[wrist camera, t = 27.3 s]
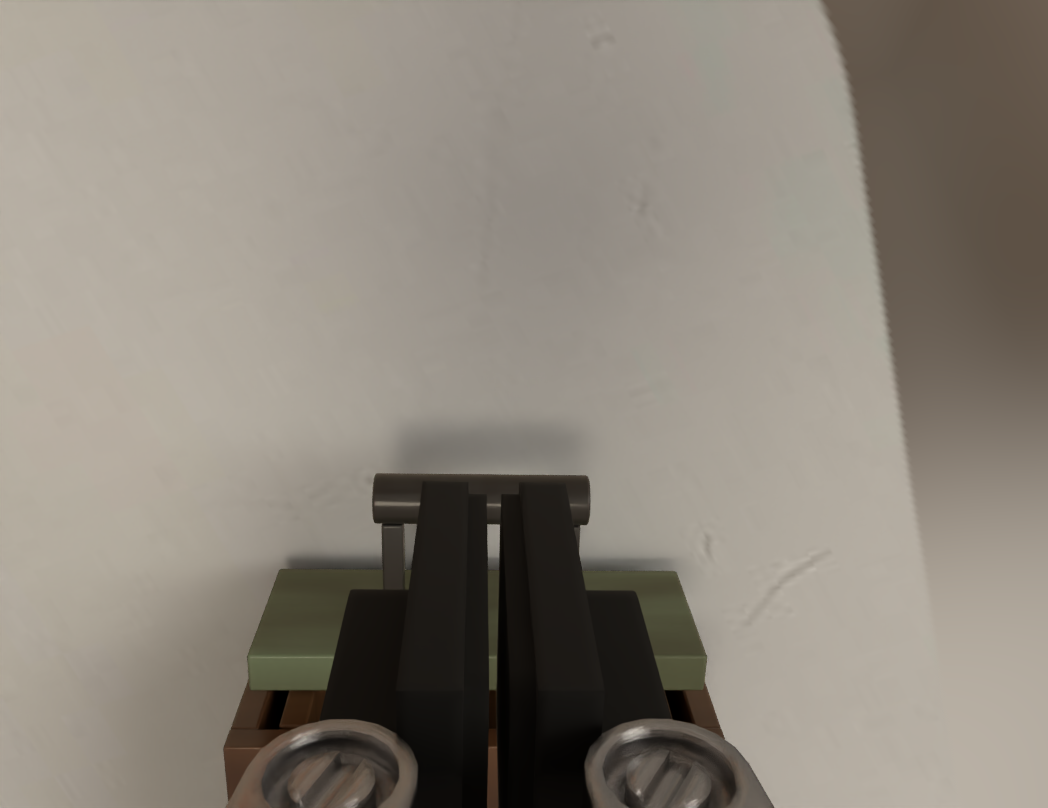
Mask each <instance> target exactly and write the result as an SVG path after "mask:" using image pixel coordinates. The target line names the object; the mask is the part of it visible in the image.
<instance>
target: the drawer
mask: <svg viewBox="0 0 1048 808" xmlns="http://www.w3.org/2000/svg"><path fill="white" fill-rule="evenodd" d="M423 481H447V482H469V494H487V524H500V516H501V494H518V492H519V483H520V482H549V483H565V484H566V488H567V493H568V498H569V504H570V509H571V514H572V519H573V525H574V530H575V535H576V541H577V546H578V551H579V541H580V525H587V524H588V522H589V517H590V483H589V479H588V476H586V475H492V474H394V473H377V474H376V475H375V477H374V482H373V496H372V511H373V520H374V522H375V523H379V524H382V563H383V570H347V569H281V570H279V572H278V575H277V578H276V580H275V583H274V586H273V588H272V591H271V594H270V597H269V599H268V602H267V605H266V607H265V610H264V613H263V615H262V618H261V621H260V623H259V626H258V629H257V631H256V634H255V637H254V639H253V642H252V645H251V647H250V650H249V653H248V655H247V662H248V675H249V687H250V690H289V693H288V696H287V700H286V703H285V707H284V710H283V714H282V717H281V721H280V724H279V730H281V729H295V728H298V727H300V726H302V725H305V724H310V723H315V722H319V719H320V715H321V711H322V707H323V702H324V698H325V694H326V689H327V685H328V681H329V677H330V672H331V668H332V664H333V660H334V655H335V651H336V647H337V642H338V638H339V634H340V630H341V625H342V621H343V617H344V613H345V608H346V604H347V600H348V596H349V593H350V590H352V589H409V584H410V576H411V570H405V536H404V524H417V521H418V514H419V506H420V498H421V490H422V483H423ZM582 572H583V578H584V583H585V588H586V590H633V591H635V592H636V594H637V597H638V599H639V603H640V606H641V610H642V614H643V617H644V621H645V624H646V628H647V631H648V635H649V639H650V642H651V646H652V649H653V653H654V657H655V660H656V664H657V667H658V671H659V675H660V678H661V682H662V685H663V689H664V692H665V690H703V688H704V681H705V672H706V663H707V655H706V653H705V650H704V647H703V644H702V642H701V639H700V636H699V633H698V631H697V628H696V625H695V622H694V620H693V617H692V614H691V611H690V609H689V606H688V603H687V600H686V598H685V595H684V592H683V589H682V586H681V584H680V581H679V578H678V575H677V573H676V572H675V571H582ZM498 599H499V570H488V626H489V729H497V727H496V682H497V640H498ZM665 696H666V693H665ZM666 700H667V697H666ZM667 703H668V701H667ZM668 707H669V704H668ZM669 710H670V708H669ZM670 714H671V711H670ZM671 718H672V715H671ZM672 720H673V719H672Z"/></svg>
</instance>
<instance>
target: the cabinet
mask: <svg viewBox="0 0 1048 808" xmlns="http://www.w3.org/2000/svg"><path fill="white" fill-rule="evenodd" d="M288 693H289V690H250V687H249V679H248V682H247V685H246V688H245V690H244V693H243V696H242V699H241V702H240V704H239V707H238V710H237V713H236V716H235V718H234V721H233V724H232V727H231V730H230V731H229V734H228V736H227V739H226V742H225V745H224V748H223V750H224V761H225V772H226V782H227V793H228V802H229V800H230V798H231V796H232V795H233V793H234V791H235V789H236V787H237V785H238V783H239V782H240V780H241V778H242V776H243V774H244V772H245V770H246V769H247V767H248V765H249V764H250V763H251V761H252V760H253V759H254V758H255V756H256V755H257V754H258V752H259V751H260V750H261V749H262V748H263V747H264V746H266V745H267V744H269V743H270V742H271V741H273V740H274V739H275V738H277V737H278V736H280V735H281V734H283V733H286V732H288V731H290V730H293V729H281V730H279V724H280V721H281V717H282V714H283V710H284V707H285V703H286V700H287V696H288ZM665 693H666V697H667V701H668V704H669V708H670V711H671V715H672V719H673V720H676V721H681V722H686V723H691V724H694V725H697V726H699V727H701V728H704V729H706V730H709V731H711V732H713V733H716V734H717V735H719V736H720V737H721V738H723V739H724V740H725V738H724V735H723V732H722V729H721V728H720V725H719V722H718V719H717V716H716V713H715V710H714V707H713V704H712V702H711V699H710V696H709V693H708V690H707V687H706V684H705V681H704V688H703V690H665ZM487 808H498V770H497V729H489V738H488V785H487Z"/></svg>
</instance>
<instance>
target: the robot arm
mask: <svg viewBox="0 0 1048 808" xmlns="http://www.w3.org/2000/svg"><path fill="white" fill-rule="evenodd" d="M496 727H497V770H498V808H774V806H773V804H772V803H771V801H770V799H769V798H768V796H767V794H766V792H765V791H764V789H763V787H762V786H761V784H760V782H759V780H758V779H757V777H756V775H755V774H754V772H753V770H752V768H751V767H750V765H749V763H748V762H747V761H746V760H745V759H744V757H743V756H742V755H741V754H740V753H739V751H738V750H737V749H736V748H735V747H734V746H733V745H731V744H730V743H728V742H727V741H726V740H724V739H723V738H721V737H720V736H719V735H717V734H716V733H713V732H711V731H709V730H706V729H704V728H701V727H699V726H697V725H694V724H691V723H686V722H681V721H676V720H672V718H671V714H670V710H669V707H668V703H667V700H666V696H665V692H664V689H663V685H662V682H661V678H660V675H659V671H658V667H657V664H656V660H655V657H654V653H653V649H652V646H651V642H650V639H649V635H648V631H647V628H646V624H645V621H644V617H643V614H642V610H641V606H640V603H639V599H638V597H637V594H636V592H635V591H633V590H586V588H585V583H584V578H583V572H582V567H581V562H580V557H579V551H578V546H577V541H576V535H575V530H574V525H573V519H572V514H571V509H570V504H569V498H568V493H567V488H566V484H565V483H549V482H520V483H519V492H518V494H501V516H500V557H499V599H498V640H497V682H496ZM488 738H489V626H488V553H487V494H469V482H447V481H423V483H422V490H421V498H420V506H419V514H418V521H417V529H416V537H415V545H414V553H413V560H412V568H411V576H410V584H409V589H352V590H350V593H349V596H348V600H347V604H346V608H345V613H344V617H343V621H342V625H341V630H340V634H339V638H338V642H337V647H336V651H335V655H334V660H333V664H332V668H331V672H330V677H329V681H328V685H327V689H326V694H325V698H324V702H323V707H322V711H321V715H320V719H319V722H315V723H310V724H305V725H302V726H300V727H298V728H295V729H293V730H290V731H288V732H286V733H283V734H281V735H280V736H278V737H277V738H275V739H274V740H273V741H271V742H270V743H269V744H267V745H266V746H264V747H263V748H262V749H261V750H260V751H259V752H258V754H257V755H256V756H255V758H254V759H253V760H252V761H251V763H250V764H249V765H248V767H247V769H246V770H245V772H244V774H243V776H242V778H241V780H240V782H239V783H238V785H237V787H236V789H235V791H234V793H233V795H232V796H231V798H230V800H229V802H228V804H227V806H226V808H487V785H488Z"/></svg>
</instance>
